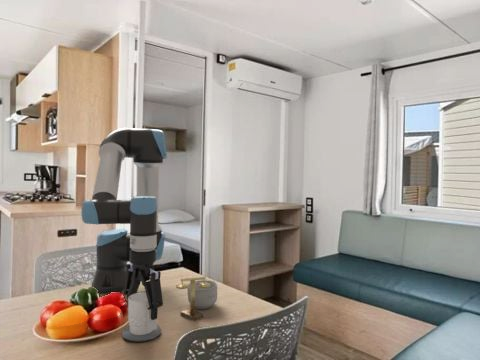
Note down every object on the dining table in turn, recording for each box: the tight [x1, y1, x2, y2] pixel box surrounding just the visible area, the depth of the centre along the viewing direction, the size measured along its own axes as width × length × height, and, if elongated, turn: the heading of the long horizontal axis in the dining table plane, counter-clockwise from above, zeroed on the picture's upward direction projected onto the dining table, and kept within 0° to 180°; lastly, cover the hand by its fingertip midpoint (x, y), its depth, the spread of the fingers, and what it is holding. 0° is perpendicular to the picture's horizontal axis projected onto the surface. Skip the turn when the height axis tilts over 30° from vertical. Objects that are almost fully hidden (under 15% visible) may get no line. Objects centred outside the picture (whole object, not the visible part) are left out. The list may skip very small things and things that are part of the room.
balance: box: [175, 275, 210, 322], centre depth 120 cm, size 15×4×14 cm, turn 50°
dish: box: [121, 324, 162, 343], centre depth 107 cm, size 11×11×1 cm
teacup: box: [186, 278, 218, 310], centre depth 131 cm, size 14×11×8 cm
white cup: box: [127, 291, 153, 335], centre depth 107 cm, size 8×8×10 cm
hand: (141, 324), depth 107 cm, fingers open, 9 cm apart
